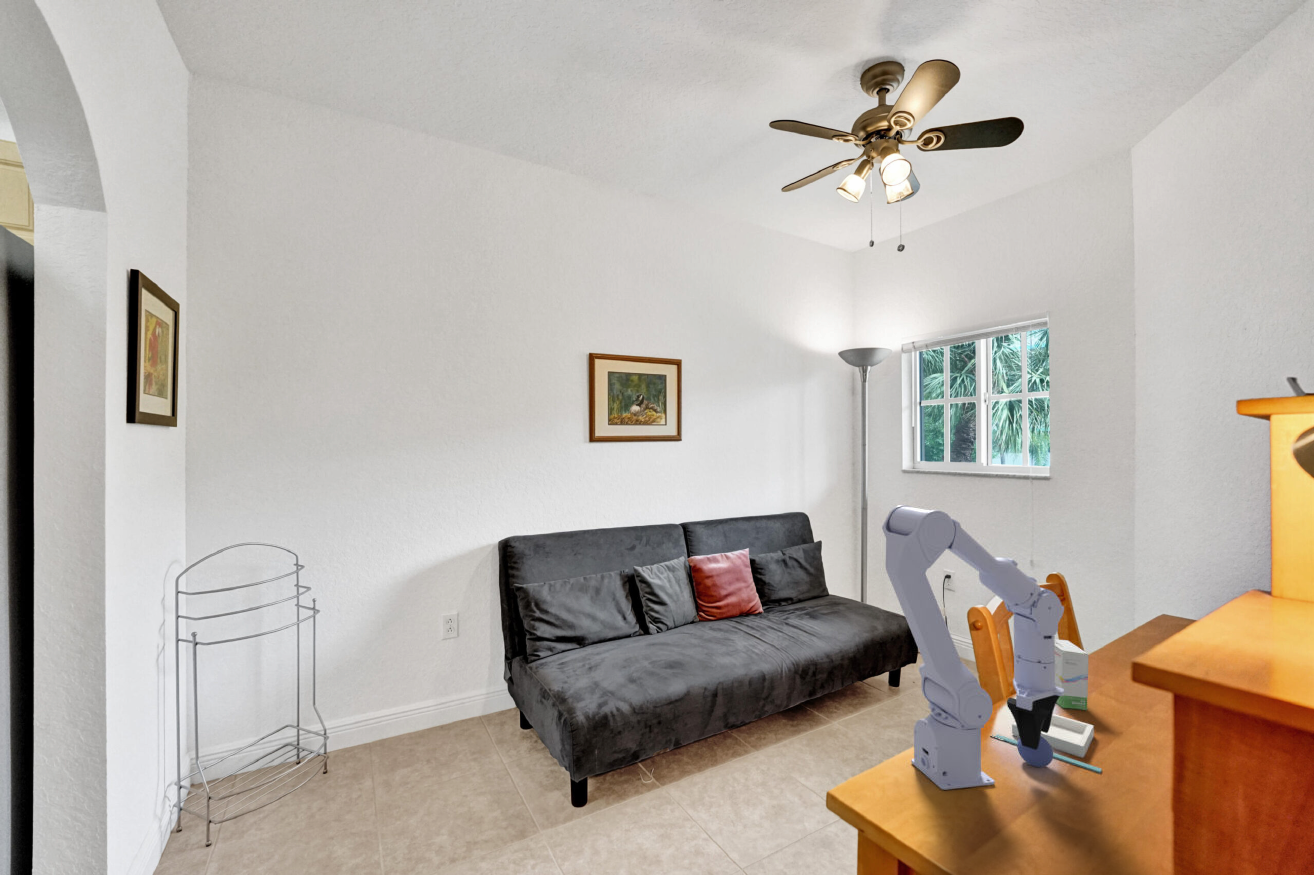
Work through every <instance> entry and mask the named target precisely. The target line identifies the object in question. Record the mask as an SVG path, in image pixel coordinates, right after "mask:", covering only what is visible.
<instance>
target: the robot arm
mask: <svg viewBox="0 0 1314 875" xmlns="http://www.w3.org/2000/svg"><path fill="white" fill-rule="evenodd" d="M961 526H962V525H961V523H960V522H959V521H957V520H956V519H954V518H951V516H950V515H949V514H948V513H946V512H945V511H941V510H939V509H938V510H937V509H936V510H931V509H924V508H918V507H912V506H910V505H906V504H905V505H904V504H901V505H897V506H895V507H894V508H892V509H891V510H890V512H889V513H888V515H887V516H886V519H885V521H884V522H883V525H882V527H881V529H882V532H883V534H884V536H885V570H886V573H887V576H888V578H889V581H890V583H891V585H892V587H893V591H894V593H895V595H896V598H897V600H898V602H899V605H900V607H901V610H902V612H903V614H904V618H905V619H906V622H907V624H908V626H909V629H910V631H911V634H912V637H913V638H914V642H915V644H916V646H917V649H918V651H919V654H920V656H921V659H922V660H923V663H921V665H920V666H918V671H919V674H920V679H921V683H920V685H921V686H920V688H921V693H922V695H923V697H924V698H925V699H926V700H927V701H928V709H929V710H930V713H929V714H928V715H927V716H925V717H924V718H920V719H918V720H917V721H916V722H915V724H914V727H913V740H914V741H913V750H914V751H913V758H911V762H910V763H911V764H913V766H915V767H916V768H917V769H918V770H920V772H922V774H924V775H925V776H926V777H927V778H928V779H929V780H930V781H932V782H933V783H934V784H935V785H936V786H938V788H939V789H941V790H954V789H963V788H964V789H965V788H972V787H980V786H981V787H982V786H990V785H995V780H994V779H993V778H992V777H991V776H989V775H988V774H987V773H985V772H984V771H983V770H982V729H984V728H985V725H986V724H987V723H988V721H989V720H990V718H991V716H992V713H993V700H992V697H991V696H990V694H989V693H988V692H987V690H985V689H984V688H982V687H981V685H980V683H979V681H978V679H977V676H975V675H974V674H973V672H972V671H971V670H970V669H969V668H968V667H967V666H966V665H965V664H964V663H963V661H962V660H961V657H960V655H959V653H958V650H957V647H956V646H955V644H954V641H953V638H952V636H951V633H950V630H949V628H948V626H947V623H946V621H945V619H944V617H943V614H942V611H941V608H940V606H939V604H938V602H937V599H936V596H935V594H934V591H933V589H932V587H931V584H930V582H929V579H928V576H927V575H926V573H927V571H928V570H929V569H930V568H931V567H932V566H933V565H934V564H935V563H936V561H937V560H938V559H939V558H940V557H941V556H942V555H943V554H944V552H945V551H946V550H948V551H950V552H951V553H952V554H954V555H955V556H956V557H958V558H960V560H962V562H965V563H966V564H967V565H969V566H971V568H973V569H974V570H976V571H977V572H978V577H979V579H978V580H979V581H980V583H981V584H982V585H983V586H984V587H986V588H987V589H988V590H990V592H992V593H993V594H994V595H996V596H997V597H998V598H1000V599H1001V600H1002V601H1003V602H1004V606H1005V609H1006V610H1007V611H1008V612H1010V613H1012V614H1013V657H1014V658H1013V667H1014V668H1013V670H1014V672H1013V676H1014V678H1013V679H1012V683H1013V684H1012V685H1013V687H1014V690H1015V692H1016V695H1015V697H1016V698H1013V697H1009V698H1008V699H1007V700H1006V705H1007V708H1008V710H1009V711H1010V712H1011V715H1012V717H1013V719H1014V721H1015V722H1016V725H1017V729H1018V733H1019V737H1018V738H1020V740H1021V743H1022V745H1023V746H1025V747H1029V748H1032V749H1035V750H1037V748H1038V746H1039V742H1040V736H1041V731H1042V732H1045V733H1048V731H1049V728H1050V724H1051V719H1052V714H1054V710H1055V707H1056V704H1057V703H1056V702H1057V700H1058V698H1059V697H1060V696H1063V695H1064V689H1062V688H1059V687H1056V685H1055V635H1057V632H1058V631H1059V622H1060V620H1061V619H1062V618H1063V615H1064V611H1065V606H1064V605H1062V602H1061V600H1060V598H1059V597H1058V596H1057V594H1056V593H1055V592H1054V591H1053V590H1050V589H1047V588H1045V587H1044V588H1043V587H1041V586H1039V584H1038V581H1037V579H1036V578H1034V577H1033V576H1030V575H1029V576H1028V575H1027V574H1026V573H1025V572H1023V571H1022V570H1021V569H1019V568H1018V565H1019V564H1018V562H1017V561H1016V560H1014V559H1012V558H1008V557H1007V558H1006V557H1001V556H1000V557H999V556H998V557H994V556H993V555H992V554H991V553H990V552H988V550H987V549H985V548H984V547H983V546H982V545H981V544H980V543H979V542H978V541H977V540H975V539H974V538H973V537H972V536H971V535H970V534H969V533H968V532H967V531H966V530H964V528H962V527H961Z"/></svg>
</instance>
